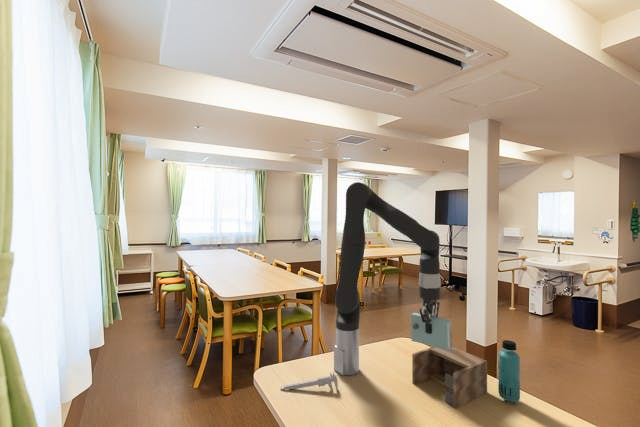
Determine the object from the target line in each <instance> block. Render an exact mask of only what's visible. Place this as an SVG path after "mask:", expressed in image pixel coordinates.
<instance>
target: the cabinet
mask: <svg viewBox="0 0 640 427" xmlns="http://www.w3.org/2000/svg"><path fill="white" fill-rule="evenodd" d="M411 356H412V358H411V359H412V364H411V365H412V366H411V367H412V368H411V369H412V373H411V374H412V384H413V385H417V384H419V383H422V382H424V381H427V380H429V379H432V380H433V381H436V382H438V383H439V384H441V385H442V386H444V387H447V388H448V389H450V390H448V389H445V390H444V401H445V402H446V403H448V404H450V405H451V406H452V407H453V408H454V409H458V408H460V407H461V406H463V405H465V404H467V403H469V402H472V401H473V400H475V399H477V398H479V397H481V396H482V395H485V394H486V393H487V392H488V360H485V359H483V358H482V357H478V356H477V355H473V354H471V353H469V352H466V351H464V350H461V349H459V348H456V347H453V346H452V348H451V349H450V350H446V349H442V348H438V347H434V346H430V347H428V348H425V349H422V350H420V351H416V352H413V353H412V355H411ZM451 390H452V391H451Z"/></svg>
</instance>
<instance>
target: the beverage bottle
mask: <svg viewBox="0 0 640 427" xmlns="http://www.w3.org/2000/svg"><path fill="white" fill-rule="evenodd" d="M501 347H502V350H500V351H498V360H497V361H498V367H497V369H498V383H497V384H498V385H497V386H498V395H499V397H500V398H501V399H503V400H506V401H508V402H512V403H513V402H519V401H520V399H521V382H520V381H521V378H520V376H521V370H520V369H521V368H520V367H521V365H520V363H521V357H520V355H519V354H518V353H517V352H516V351H517V343H516V342H515V341H512V340H509V339H504V340H502V344H501Z"/></svg>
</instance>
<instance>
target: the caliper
mask: <svg viewBox="0 0 640 427" xmlns="http://www.w3.org/2000/svg"><path fill="white" fill-rule="evenodd" d="M338 382H339V381H338V377H337V375H336V374H335V373H334V372H332V373H331V372H330V373H329V375H327V376H323V377H318V378H316V379H313V380H308V381H302V382H296V383H291V384H286V385H283V387H281V388H280V390H281V389H293V390H297V389H302V388H308V387H314V386H318V387H319V388H320V387H324V386H326V385H328V387H329V389H330V390H331V391H334V390H333V389H334V388H333V385H332V383H334V386H335V390H336V391H338V389H339V387H338V386H339V385H338V384H339V383H338Z"/></svg>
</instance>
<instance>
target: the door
mask: <svg viewBox="0 0 640 427" xmlns="http://www.w3.org/2000/svg"><path fill="white" fill-rule="evenodd" d="M429 319H430V318H429ZM410 324H411V325H410V327H411V342H414V343H420V344H423V345H428V346H430V347H438V348H442V349H446V350H450V349H451V348H452V347H453V342H452V341H453V340H452V339H453V337H452V335H453V334H452V319H449V318H443V317H440V316H438V317H432V333H431V334H428V333H426V332H425V323H424V322H422V319H421V315H420V313H417V312H413V313H411V314H410Z"/></svg>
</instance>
